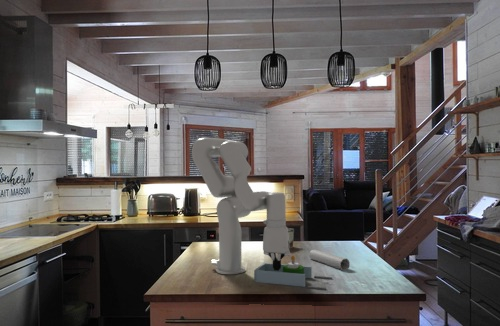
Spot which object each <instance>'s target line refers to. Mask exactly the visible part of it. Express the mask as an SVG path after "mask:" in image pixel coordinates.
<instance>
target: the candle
mask: <svg viewBox="0 0 500 326" xmlns="http://www.w3.org/2000/svg"><path fill="white" fill-rule="evenodd" d="M290 259H291V261H290V262H288V263H287V264H284V266H283V272H286V273H297V274H304V267H303V266H304V265H301V264H299V262H296V261H295V260H296V257H295V255H291V258H290Z"/></svg>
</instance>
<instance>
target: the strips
mask: <svg viewBox="0 0 500 326" xmlns="http://www.w3.org/2000/svg"><path fill="white" fill-rule="evenodd" d="M314 279H323V280H332V279H333V277H332V276H322V275H314ZM311 288H312V289H313V290H321V289H322V291H323V290H324V291H326V290H327V287H324V286H315V285H314V286H313V285H306V289H311Z"/></svg>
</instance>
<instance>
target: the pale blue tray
mask: <svg viewBox="0 0 500 326" xmlns="http://www.w3.org/2000/svg"><path fill="white" fill-rule="evenodd" d="M284 265H285V264H283V263H281V268H280V269H279V270H278V271H277V270H276V271H274V268H273V262H272V263H271V262H270V263H268V262H263V263H262V264H261V265H259V266H257V268H255V269H254V270H253V271H254V273H253V277H254V278H253V279H254V280H253V282H254V283H261V284H272V285H273V284H274V285H283V286H284V285H285V286H293V287H304V288H305V287H306V279H312V266H311V265H310V266H308V265H307V266H306V265H302V266H303V267H304V274H297V273H286V272H283V266H284Z"/></svg>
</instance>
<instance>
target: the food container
mask: <svg viewBox="0 0 500 326" xmlns="http://www.w3.org/2000/svg"><path fill="white" fill-rule="evenodd" d="M287 228H288V233H289V241H290V249H291V248H293V247H294V233H295V228H290V227H287Z"/></svg>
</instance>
